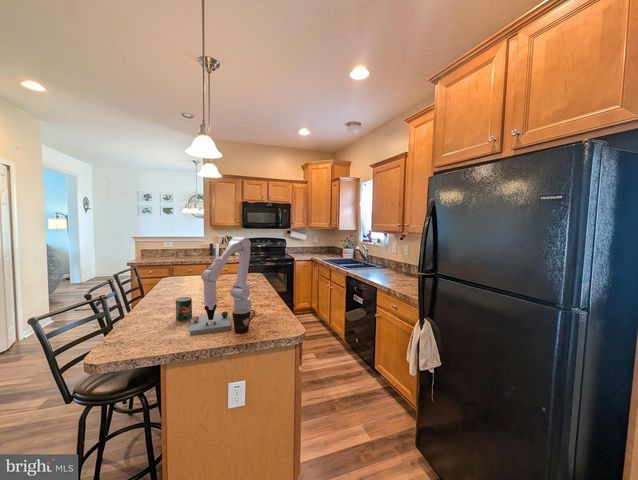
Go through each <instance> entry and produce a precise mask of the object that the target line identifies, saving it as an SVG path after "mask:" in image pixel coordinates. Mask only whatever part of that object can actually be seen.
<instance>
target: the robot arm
mask: <svg viewBox="0 0 638 480" xmlns="http://www.w3.org/2000/svg"><path fill="white" fill-rule="evenodd" d="M251 244H252V243H251V240H250V239H249V238H248V237H246V236H245V237H242V236H241V237H240V236H239V237H238V236H233V237H232V238H231V240H229V241H228V245H227V246H226V248H225V250H224V251H223V252H222V253H221V255H220V256H219V257H216V258H214V259H213V262H212V263H211V264H210V265H209V266H208V268H207V269H205V270H203V271H202V273H201V275H200V278H201V280H202V282H203V294H204V295H203V297H204V299H203V301H201V305H204V310H205V312H206V315H208V320H213V318H214V315H215V313H216V309H217V307H218V305H217V303H218V300H217V280H219V278H220V274H221V273H220V272H221V271H222V270H223V269H224V267H225V266H226V264H227V263H226V261H227V260H228V259H229V258H230V257H231V256H232V255H233V254H234V253H235V252H236V251H237V252H238V253H239V262H238V269H237V276H236V281H235V282H234V283H233V284H232V287H231V290H230V295H231V297H232V299H233V310H235V309H238V308H249V309H251V310H252V300H251V298H250V294H251V292H250V285H249V283H248V282H247V281H248V272H249V264H250V258H251V253H252V252H251ZM250 316H252V312H251V313H250Z"/></svg>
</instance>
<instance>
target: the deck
mask: <svg viewBox="0 0 638 480" xmlns="http://www.w3.org/2000/svg"><path fill="white" fill-rule="evenodd" d="M192 318H193V316H192ZM190 321H191V322H190V330H189V334H190V336H195V335H201V334H208V333H215V332H216V333H217V332H223V331H224V332H225V331H231V330H232V325H231V320H230V317H229V315H228V316H227V317H225V318H224V317H222V313H218V314H217V313H214V318H213V320H208V315H207V314H206V315H200V316H199V320H198V321H197V322H194V321H193V320H192V319H191V320H190ZM209 322H214V325H211V326H207V324H208V323H209Z"/></svg>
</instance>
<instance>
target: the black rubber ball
mask: <svg viewBox="0 0 638 480" xmlns="http://www.w3.org/2000/svg"><path fill="white" fill-rule="evenodd" d="M221 314H222V317H224V318H225V317H227V316H229V314H228V311H222V312H221Z"/></svg>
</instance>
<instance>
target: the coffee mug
mask: <svg viewBox="0 0 638 480" xmlns="http://www.w3.org/2000/svg"><path fill="white" fill-rule="evenodd" d="M252 312H253V314H252ZM250 313H251V314H252V317H251V315H250ZM231 314H232V322H233V328H234V333H235V334H237V335H242V334H243V335H244V334H246V333H248V332H249V330H250V329H249V328H250V322H251V321H252V320H253V319H254V317H255V316H256V315H255V314H256V311H255V310H254V309H252V308H251V309H249V308H238V309H235V310H234V309H233V310H232V311H231Z"/></svg>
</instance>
